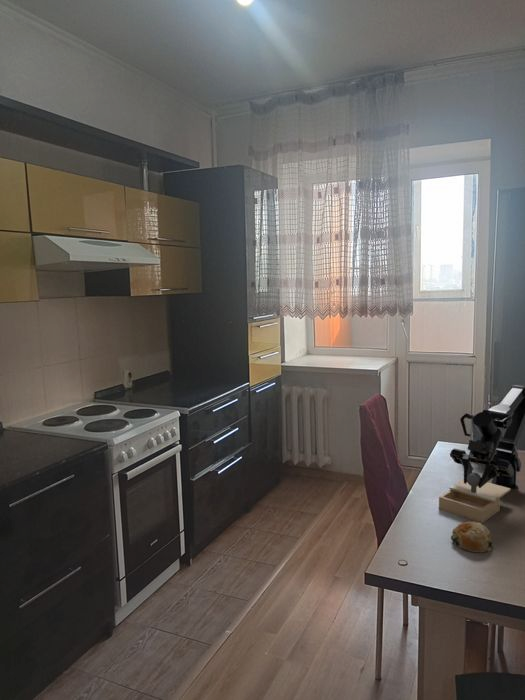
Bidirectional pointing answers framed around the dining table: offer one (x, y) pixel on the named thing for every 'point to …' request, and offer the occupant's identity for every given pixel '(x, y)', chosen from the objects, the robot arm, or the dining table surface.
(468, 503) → the wooden box
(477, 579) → the dining table surface
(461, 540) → the bread roll
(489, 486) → the lid
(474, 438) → the moka pot
